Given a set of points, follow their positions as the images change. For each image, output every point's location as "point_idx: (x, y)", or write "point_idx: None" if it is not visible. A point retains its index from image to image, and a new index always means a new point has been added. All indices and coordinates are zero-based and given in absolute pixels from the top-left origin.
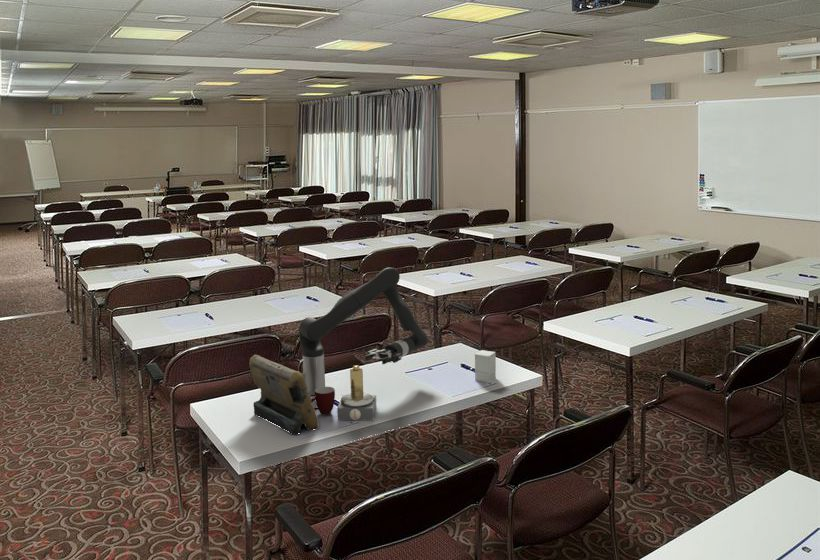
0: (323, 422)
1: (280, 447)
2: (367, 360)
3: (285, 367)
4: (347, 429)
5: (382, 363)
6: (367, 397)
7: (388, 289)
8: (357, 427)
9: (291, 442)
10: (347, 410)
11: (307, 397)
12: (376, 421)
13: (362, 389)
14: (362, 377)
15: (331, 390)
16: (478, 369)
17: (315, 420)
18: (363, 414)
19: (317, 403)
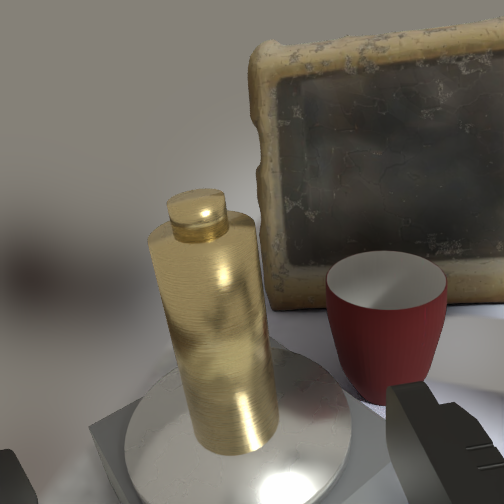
0: (300, 340)
1: (259, 232)
2: (391, 458)
3: (359, 37)
4: (168, 358)
5: (28, 497)
6: (183, 469)
7: None
8: (139, 388)
9: (259, 248)
10: None
11: (258, 166)
12: (82, 481)
13: (180, 376)
14: (162, 302)
15: (400, 327)
16: None
17: (263, 270)
18: None
19: (380, 304)
